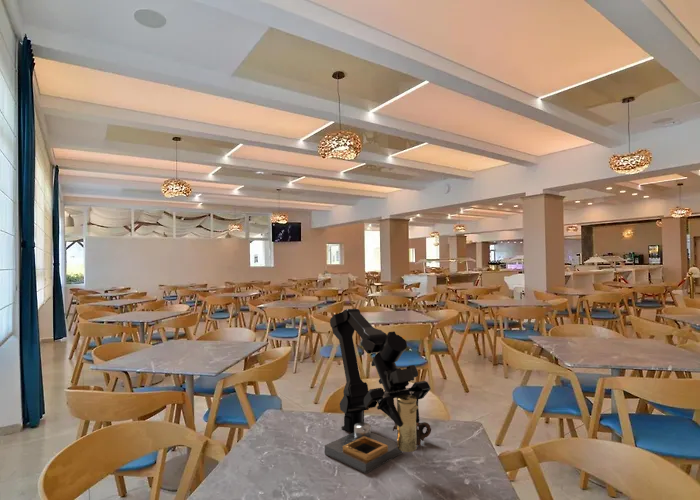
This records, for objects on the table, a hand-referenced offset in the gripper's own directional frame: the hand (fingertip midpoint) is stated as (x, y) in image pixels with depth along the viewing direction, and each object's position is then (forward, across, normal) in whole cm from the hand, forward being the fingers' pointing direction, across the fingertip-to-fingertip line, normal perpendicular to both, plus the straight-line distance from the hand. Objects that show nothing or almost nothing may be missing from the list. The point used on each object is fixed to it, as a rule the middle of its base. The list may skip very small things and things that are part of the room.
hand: (409, 424), depth 107 cm
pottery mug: (-3, +12, +22) cm, 25 cm away
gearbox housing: (-2, -5, +21) cm, 22 cm away
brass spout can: (+5, 0, +5) cm, 7 cm away
